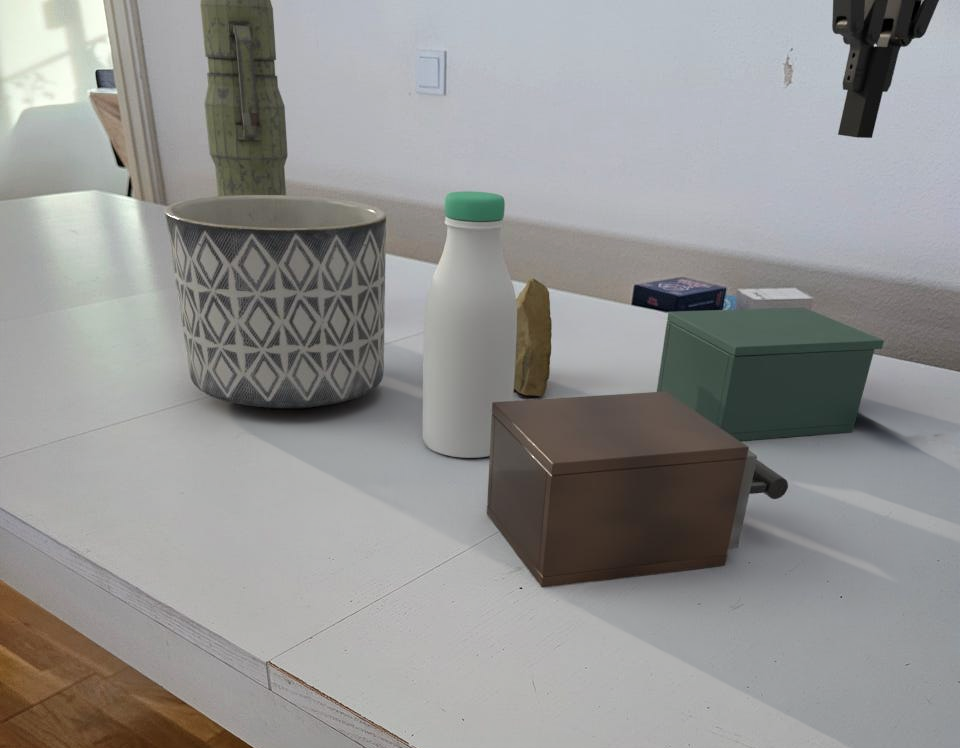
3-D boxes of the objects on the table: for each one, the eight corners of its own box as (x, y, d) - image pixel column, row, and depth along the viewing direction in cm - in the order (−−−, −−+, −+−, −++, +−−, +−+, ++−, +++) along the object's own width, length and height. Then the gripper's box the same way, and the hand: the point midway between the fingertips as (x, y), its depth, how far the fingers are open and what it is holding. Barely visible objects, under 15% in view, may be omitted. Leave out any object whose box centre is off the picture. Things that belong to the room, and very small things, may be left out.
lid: (801, 315, 95) (803, 307, 94) (882, 349, 85) (884, 340, 84) (666, 320, 91) (668, 311, 90) (734, 356, 81) (736, 346, 80)
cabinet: (649, 498, 74) (665, 390, 69) (725, 565, 64) (749, 447, 60) (486, 514, 70) (491, 401, 65) (541, 588, 61) (552, 463, 56)
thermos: (285, 300, 124) (264, -23, 105) (307, 322, 114) (288, -27, 96) (218, 303, 120) (182, -29, 102) (234, 326, 111) (199, -34, 92)
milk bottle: (521, 457, 80) (539, 201, 69) (434, 463, 78) (438, 201, 67) (495, 426, 86) (507, 187, 75) (413, 431, 84) (414, 186, 73)
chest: (778, 391, 99) (795, 315, 95) (852, 432, 89) (874, 349, 85) (655, 399, 95) (666, 320, 91) (718, 443, 85) (734, 356, 81)
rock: (573, 381, 91) (583, 341, 98) (524, 307, 87) (539, 271, 95) (485, 432, 96) (501, 391, 104) (435, 365, 92) (455, 327, 100)
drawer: (716, 484, 74) (732, 401, 70) (791, 542, 66) (813, 450, 62) (518, 503, 69) (524, 415, 66) (572, 567, 61) (582, 470, 57)
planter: (269, 353, 102) (257, 188, 94) (422, 383, 96) (424, 209, 87) (144, 400, 88) (115, 210, 79) (315, 440, 81) (304, 237, 72)
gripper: (973, -212, 72) (888, 133, 85) (831, -234, 68) (765, 130, 81) (1050, -233, 66) (946, 141, 79) (899, -259, 62) (816, 138, 75)
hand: (854, 135), depth 80 cm, fingers closed
